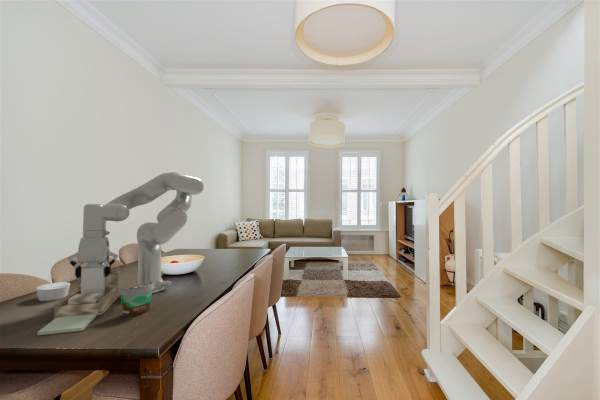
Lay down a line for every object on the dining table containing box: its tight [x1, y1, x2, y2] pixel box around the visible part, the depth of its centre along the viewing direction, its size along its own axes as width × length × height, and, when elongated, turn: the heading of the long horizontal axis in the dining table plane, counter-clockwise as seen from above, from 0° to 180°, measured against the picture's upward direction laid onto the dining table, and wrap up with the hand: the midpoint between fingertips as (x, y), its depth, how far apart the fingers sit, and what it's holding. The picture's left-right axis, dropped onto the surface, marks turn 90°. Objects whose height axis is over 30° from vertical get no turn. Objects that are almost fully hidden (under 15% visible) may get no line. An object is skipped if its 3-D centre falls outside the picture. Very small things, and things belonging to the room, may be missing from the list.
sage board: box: [37, 314, 97, 336], centre depth 95 cm, size 12×12×1 cm
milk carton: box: [81, 258, 106, 297], centre depth 115 cm, size 7×7×19 cm
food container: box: [118, 281, 154, 317], centre depth 107 cm, size 12×6×10 cm, turn 148°
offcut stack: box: [66, 293, 103, 306], centre depth 107 cm, size 10×7×6 cm, turn 107°
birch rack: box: [53, 269, 120, 320], centre depth 111 cm, size 14×19×12 cm
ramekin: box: [35, 281, 71, 302], centre depth 122 cm, size 11×11×5 cm
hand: (93, 276), depth 115 cm, fingers open, 9 cm apart
